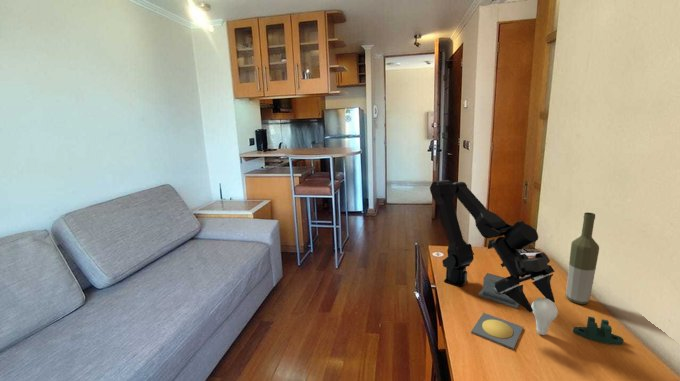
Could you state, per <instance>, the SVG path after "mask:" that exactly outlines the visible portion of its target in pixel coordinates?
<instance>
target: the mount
mask: <svg viewBox="0 0 680 381" xmlns="http://www.w3.org/2000/svg"><path fill="white" fill-rule="evenodd" d="M587 317H588V318H587V322H586V326H573V328H572V329H573V330H572V333H574V335H577V336H579V337H582V338H583V339H586V340H589V341H593V342H597V343H602V344H606V345H615V346H617V345H618V346H622V345H624V338H622V337H621V336H620V335H617V334H614V333H612V330H613V329H612V326H611V325H609V320H608V319H607V320H606V319H603V318H602V319H601V322H600V326H598V323H597V322H596V319H595V317H594V316H587Z"/></svg>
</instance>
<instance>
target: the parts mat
mask: <svg viewBox="0 0 680 381" xmlns="http://www.w3.org/2000/svg"><path fill="white" fill-rule="evenodd" d="M523 330H524V326H522V325H519V324H516V323H513V322H511V321H509V320H506V319H504V318H503V319H502V318H499V317H497V316H494V315H490V314H488V313H486V312H482V314H481V316H480V318H479V319H478V320H477V322H476V323H475V324H474V326H473V328H472V329H471V331H470V333H471V334H473V335H476V336H478V337H480V338H482V339H485V340H488V341H490V342H493V343H495V344H498V345H500V346H503V347H504V348H505V347H506V348H508V349H510V350H513V351H514V350H515V348H516V346H517V342H518V341H519V338H520V336H521V335H522V332H523Z"/></svg>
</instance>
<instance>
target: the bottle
mask: <svg viewBox="0 0 680 381" xmlns="http://www.w3.org/2000/svg"><path fill="white" fill-rule="evenodd" d="M595 219H596V213H593V212H589V211H588V212H584V214H583V221H582V222H583V223H582V228H581V235H580V236H579V237H577V238H576V239H574V240H573V241H571V246H570V251H569V252H570V254H569V262H568V271H567V280H566V288H565V296H566V298H567V300H568V301H570V302H573V303H575V304H578V305H579V304H580V305H586V304H588V303H589V302H590V300H591V296H592V290H593V285H594V279H595V274H596V269H597V264H598V263H597V262H598V259H599V254H600V253H599V252H600V245H599V244H598V243H597V242H596V240H595V239H594V238H593V231H594V224H595Z"/></svg>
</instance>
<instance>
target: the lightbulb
mask: <svg viewBox="0 0 680 381" xmlns="http://www.w3.org/2000/svg"><path fill="white" fill-rule="evenodd" d="M531 307H532V309H533V312H532V314H533V316H534V319H535V325H536V330H535V331H536V333H538V334H539V335H540V336H545V335H547V334H548V330H549V328H550V325H551V323H552V322H553V321H554V320H555V319H556V318H557V317H558V313H559V310H558V306H557V305H556V304H555V302H554V303H553V302H552V301H551V300H549V299H547V298H545V297H539V298H536V299H534V300H533V301H532V303H531Z"/></svg>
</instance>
